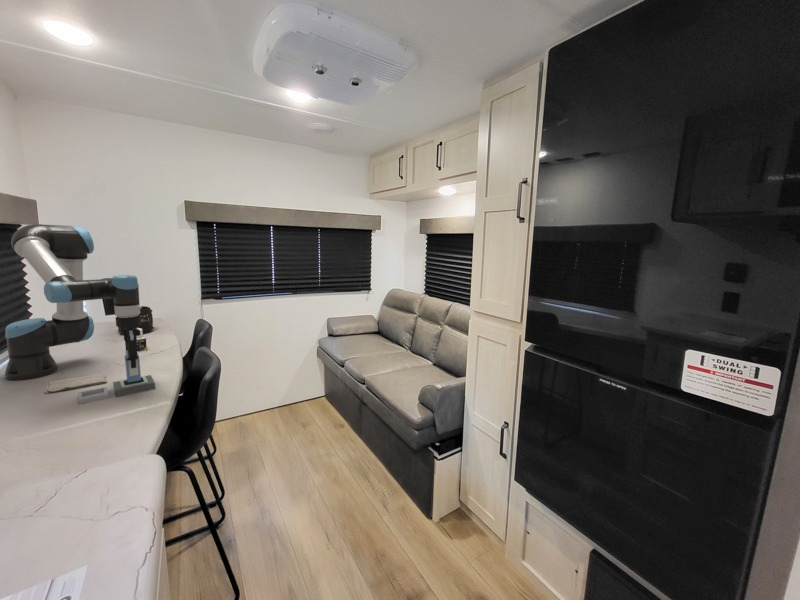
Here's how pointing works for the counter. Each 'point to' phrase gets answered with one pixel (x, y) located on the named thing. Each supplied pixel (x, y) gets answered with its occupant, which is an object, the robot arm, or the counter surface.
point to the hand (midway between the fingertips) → (133, 373)
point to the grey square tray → (92, 395)
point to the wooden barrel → (143, 321)
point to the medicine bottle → (140, 340)
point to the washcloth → (75, 383)
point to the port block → (133, 386)
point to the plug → (129, 378)
